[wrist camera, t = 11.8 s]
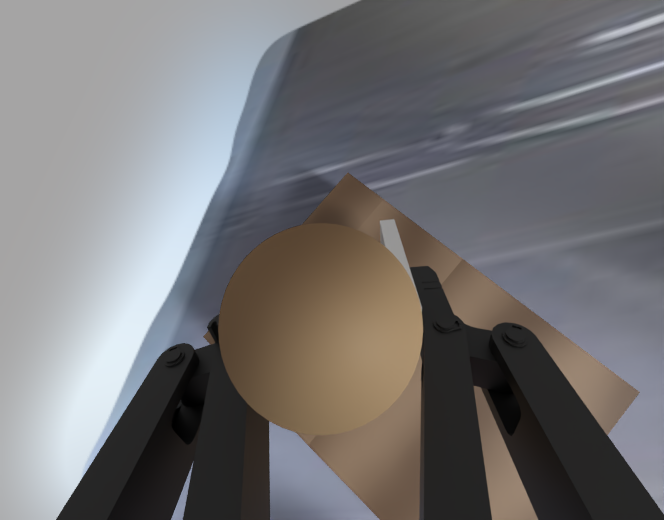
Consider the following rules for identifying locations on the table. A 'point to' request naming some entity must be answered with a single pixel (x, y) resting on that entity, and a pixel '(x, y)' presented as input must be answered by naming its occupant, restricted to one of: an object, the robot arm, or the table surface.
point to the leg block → (405, 413)
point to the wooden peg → (320, 329)
